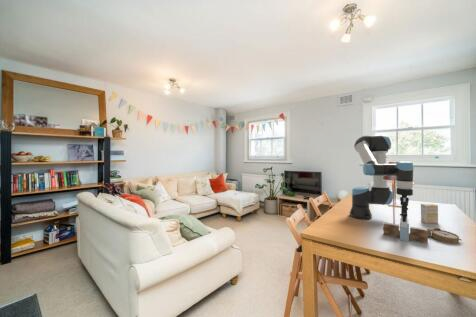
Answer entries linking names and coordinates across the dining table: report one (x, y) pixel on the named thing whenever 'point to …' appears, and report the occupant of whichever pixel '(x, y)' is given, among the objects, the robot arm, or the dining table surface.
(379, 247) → the dining table surface
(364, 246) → the dining table surface
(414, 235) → the walnut rail
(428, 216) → the supplement box
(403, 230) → the slotted blue block
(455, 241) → the alarm clock
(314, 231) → the dining table surface
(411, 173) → the robot arm
